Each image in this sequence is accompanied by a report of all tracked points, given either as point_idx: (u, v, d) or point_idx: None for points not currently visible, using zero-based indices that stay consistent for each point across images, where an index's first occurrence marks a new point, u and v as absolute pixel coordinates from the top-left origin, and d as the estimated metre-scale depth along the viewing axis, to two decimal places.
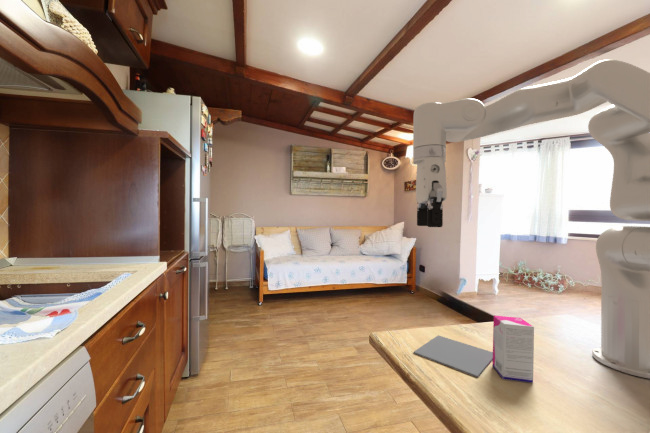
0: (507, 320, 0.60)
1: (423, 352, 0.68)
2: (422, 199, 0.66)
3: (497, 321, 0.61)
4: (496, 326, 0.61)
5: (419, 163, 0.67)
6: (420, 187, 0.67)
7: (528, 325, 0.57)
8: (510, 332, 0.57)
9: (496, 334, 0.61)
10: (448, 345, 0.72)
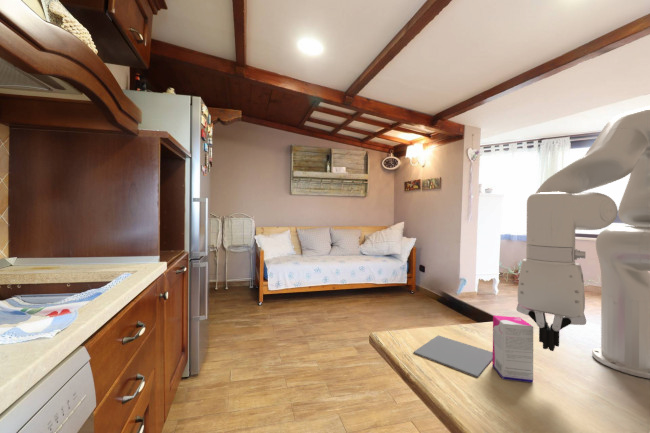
0: (506, 320, 0.60)
1: (423, 352, 0.68)
2: (560, 313, 0.52)
3: (496, 321, 0.61)
4: (495, 326, 0.61)
5: (553, 266, 0.53)
6: (557, 297, 0.53)
7: (527, 325, 0.57)
8: (509, 332, 0.57)
9: (496, 334, 0.61)
10: (448, 345, 0.72)
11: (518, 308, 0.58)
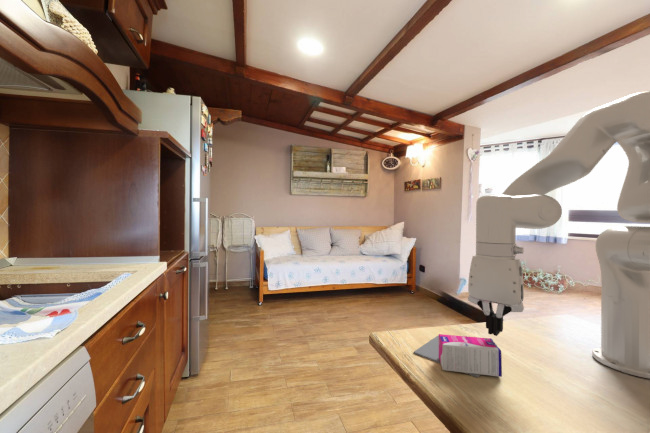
0: (440, 356, 0.62)
1: (423, 352, 0.68)
2: (502, 302, 0.59)
3: None
4: None
5: (495, 260, 0.60)
6: (498, 288, 0.59)
7: (442, 347, 0.60)
8: (450, 365, 0.60)
9: None
10: None
11: (469, 298, 0.65)
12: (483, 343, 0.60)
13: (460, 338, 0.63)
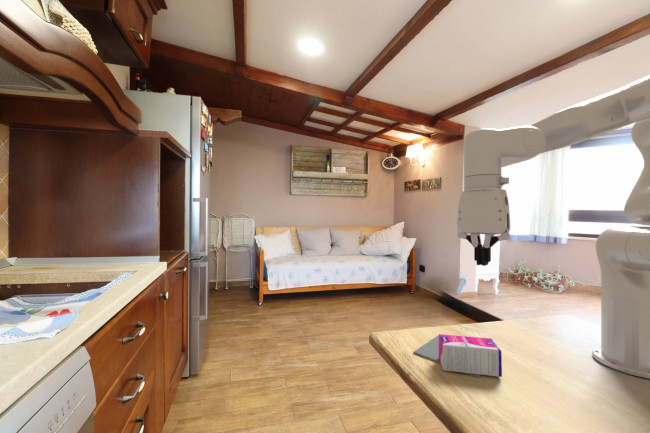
0: (440, 357, 0.62)
1: (423, 352, 0.68)
2: (489, 231, 0.61)
3: None
4: None
5: (482, 192, 0.62)
6: (485, 218, 0.61)
7: (442, 347, 0.60)
8: (450, 365, 0.60)
9: None
10: None
11: (458, 234, 0.67)
12: (483, 343, 0.60)
13: (460, 338, 0.63)
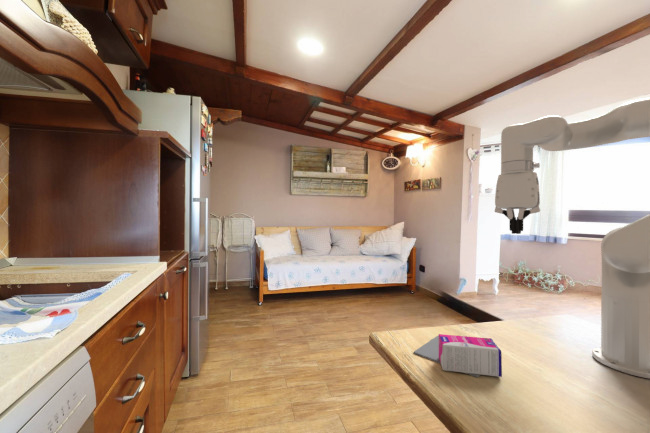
0: (440, 357, 0.62)
1: (423, 352, 0.68)
2: (522, 206, 0.77)
3: None
4: None
5: (517, 174, 0.77)
6: (520, 195, 0.77)
7: (442, 347, 0.60)
8: (450, 365, 0.60)
9: None
10: None
11: (495, 210, 0.83)
12: (483, 343, 0.60)
13: (460, 338, 0.63)
